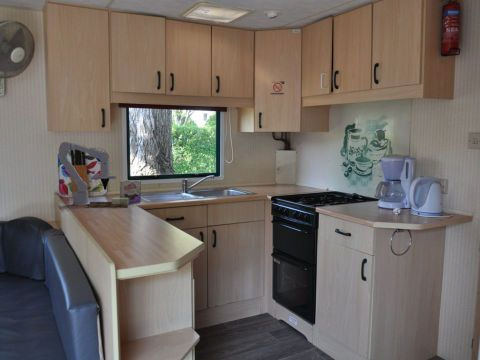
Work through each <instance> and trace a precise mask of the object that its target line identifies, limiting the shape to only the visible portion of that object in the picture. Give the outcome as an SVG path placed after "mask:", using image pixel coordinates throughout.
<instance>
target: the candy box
mask: <svg viewBox="0 0 480 360" xmlns="http://www.w3.org/2000/svg"><path fill="white" fill-rule="evenodd" d="M141 183H142V181H141V180H132V179H131V180H128V179H127V180H123V179H121V180H120V186H119V198H128V202H129V203H141V198H142V197H141V194H142V193H141V191H142V190H141V188H142V187H141V185H142V184H141Z"/></svg>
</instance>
